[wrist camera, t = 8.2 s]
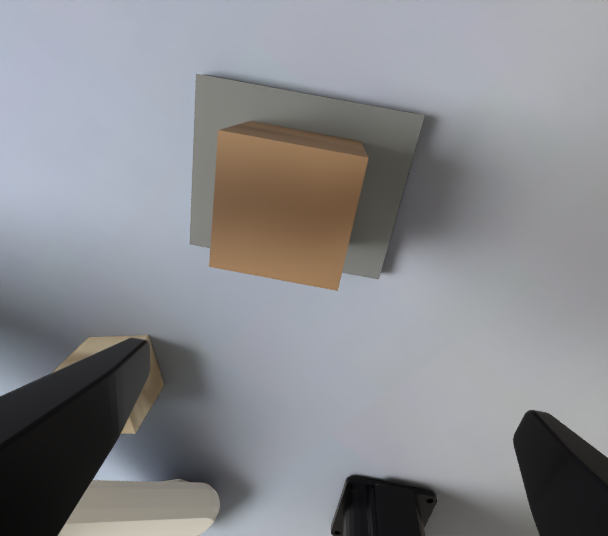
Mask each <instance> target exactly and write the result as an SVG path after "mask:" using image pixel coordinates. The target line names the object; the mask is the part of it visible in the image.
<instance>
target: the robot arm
mask: <svg viewBox="0 0 608 536" xmlns="http://www.w3.org/2000/svg"><path fill="white" fill-rule="evenodd" d="M149 373H150V343H149V341H147V340H145V339H139V338H133V337H132V338H128V339H126V340H124V341H122V342H119V343H117V344H115V345H113V346H111V347H108V348H106V349H104V350H102V351H100V352H97V353H95V354H93V355H91V356H88V357H86V358H84V359H82V360H80V361H77V362H75V363H73V364H71V365H69V366H66V367H64V368H62V369H60V370H58V371H55V372H53V373H51V374H49V375H47V376H44V377H42V378H40V379H38V380H35V381H33V382H31V383H29V384H27V385H24V386H22V387H20V388H18V389H16V390H13V391H11V392H9V393H7V394H5V395H2V396H0V536H58V535H59V533H60V531H61V530H62V528H63V527H64V525H65V523H66V522H67V520H68V519H69V517H70V515H71V514H72V512H73V511H74V509H75V507H76V506H77V504H78V503H79V501H80V499H81V498H82V496H83V494H84V493H85V491H86V490H87V488H88V486H89V485H90V483H91V482H92V480H93V478H94V477H95V475H96V474H97V472H98V470H99V469H100V467H101V466H102V464H103V462H104V461H105V459H106V458H107V456H108V454H109V453H110V451H111V449H112V448H113V446H114V445H115V443H116V441H117V439H118V438H119V436H120V434H121V432H122V430H123V428H124V426H125V424H126V422H127V420H128V418H129V416H130V414H131V412H132V410H133V408H134V406H135V404H136V402H137V399H138V397H139V395H140V393H141V391H142V389H143V387H144V385H145V383H146V381H147V379H148V376H149ZM513 444H514V448H515V452H516V456H517V460H518V464H519V468H520V471H521V475H522V479H523V483H524V487H525V490H526V494H527V498H528V502H529V505H530V509H531V512H532V515H533V518H534V521H535V524H536V527H537V529H538V532H539V535H540V536H608V458H607V457H606V456H605V455H603V454H602V453H601V452H599V451H598V450H597V449H595V448H594V447H593V446H591V445H590V444H589V443H587V442H586V441H585V440H583V439H582V438H581V437H580V436H578V435H577V434H576V433H574V432H573V431H572V430H570V429H569V428H568V427H566V426H565V425H564V424H562V423H561V422H560V421H558V420H557V419H556V418H554V417H553V416H552V415H550V414H549V413H546V412H541V411H536V410H529V411H527V412H526V413H525V415H524V417H523V419H522V421H521V422H520V424H519V426H518V428H517V430H516V432H515V434H514V438H513ZM436 503H437V498H436V494H435V493H434V492H432V491H428V490H423V489H418V488H412V487H407V486H402V485H396V484H391V483H386V482H380V481H375V480H370V479H365V478H359V477H353V476H351V477H348V478H347V479H346V481H345V484H344V488H343V491H342V494H341V497H340V500H339V503H338V506H337V509H336V512H335V516H334V519H333V522H332V525H331V534H332V535H333V536H425V532H424V527H425V525H426V523H427V521H428V519H429V517H430V515H431V513H432V511H433V509H434V507H435V505H436Z"/></svg>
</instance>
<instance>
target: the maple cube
mask: <svg viewBox="0 0 608 536" xmlns="http://www.w3.org/2000/svg"><path fill="white" fill-rule="evenodd" d="M132 337H133V338H139V339H145V340H147V341H149V343H150V373H149V376H148V379H147V381H146V383H145V385H144V387H143V389H142V391H141V393H140V395H139V397H138V399H137V402H136V404H135V406H134V408H133V410H132V412H131V414H130V416H129V418H128V420H127V422H126V424H125V426H124V428H123V430H122V432H121V434H136V432H137V430H138V429H139V427H140V425H141V424H142V422H143V420H144V419H145V417H146V415H147V414H148V412H149V410H150V409H151V407H152V405H153V404H154V402H155V400H156V399H157V397H158V395H159V394H160V392H161V390H162V389H163V387H164V383H163V380H162V377H161V373H160V370H159V367H158V364H157V361H156V358H155V354H154V351H153V348H152V345H151V342H150V339H149V335H138V336H110V337H88V338H87V339H86V340H85V341H84V342H83V343H82V344H81V345H80V346H79V347H78V348H77V349H76V350H75V351H74V352H73V353H72V354H71V355H70V356H69V357H68V358H67V359H66V360H65V361H64V362H62V363H61V364H60V365H59V366H58V367H57V368H56V369H55V370H54V371H53V372H55V371H58V370H60V369H62V368H64V367H66V366H69V365H71V364H73V363H75V362H77V361H80V360H82V359H84V358H86V357H88V356H91V355H93V354H95V353H97V352H100V351H102V350H104V349H106V348H108V347H111V346H113V345H115V344H117V343H119V342H122V341H124V340H126V339H128V338H132ZM53 372H52V373H53Z"/></svg>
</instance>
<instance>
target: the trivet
mask: <svg viewBox="0 0 608 536" xmlns="http://www.w3.org/2000/svg"><path fill="white" fill-rule="evenodd" d="M424 116H425V115H420V114H414V113H409V112H404V111H398V110H393V109H387V108H382V107H376V106H371V105H365V104H360V103H354V102H349V101H343V100H338V99H332V98H327V97H321V96H316V95H311V94H305V93H300V92H294V91H289V90H283V89H278V88H272V87H267V86H261V85H256V84H250V83H245V82H239V81H234V80H228V79H223V78H217V77H212V76H207V75H201V74H196V92H195V118H194V144H193V171H192V197H191V223H190V244H191V245H196V246H202V247H207V248H210V247H211V231H212V216H213V201H214V185H215V170H216V154H217V139H218V130H220V129H223V128H227V127H231V126H234V125H238V124H241V123H245V122H249V121H253V122H259V123H264V124H270V125H275V126H280V127H286V128H291V129H297V130H302V131H307V132H313V133H318V134H324V135H329V136H335V137H340V138H345V139H351V140H356V141H361V143H362V145H363V147H364V149H365V151H366V154H367V156H368V163H367V167H366V171H365V175H364V180H363V184H362V188H361V193H360V197H359V201H358V206H357V210H356V214H355V218H354V223H353V227H352V231H351V236H350V240H349V244H348V248H347V253H346V257H345V261H344V266H343V270H342V273H347V274H353V275H358V276H363V277H369V278H374V279H379V277H380V273H381V270H382V266H383V262H384V259H385V255H386V252H387V248H388V245H389V241H390V237H391V234H392V230H393V227H394V223H395V220H396V216H397V213H398V209H399V205H400V202H401V198H402V195H403V191H404V188H405V184H406V180H407V177H408V173H409V170H410V166H411V163H412V159H413V156H414V152H415V148H416V145H417V141H418V138H419V134H420V131H421V127H422V123H423V120H424Z"/></svg>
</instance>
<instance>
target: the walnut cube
mask: <svg viewBox="0 0 608 536" xmlns="http://www.w3.org/2000/svg"><path fill="white" fill-rule="evenodd" d="M367 163H368V156H367V154H366V151H365V149H364V147H363V145H362V143H361V141H356V140H351V139H345V138H340V137H335V136H329V135H324V134H318V133H313V132H307V131H302V130H297V129H291V128H286V127H280V126H275V125H270V124H264V123H259V122H253V121H249V122H245V123H241V124H238V125H234V126H231V127H227V128H223V129H220V130H218V139H217V154H216V170H215V185H214V201H213V216H212V231H211V247H210V262H209V267H214V268H219V269H224V270H230V271H235V272H241V273H246V274H251V275H257V276H262V277H267V278H273V279H278V280H283V281H289V282H294V283H299V284H305V285H310V286H315V287H321V288H326V289H331V290H337V291H338V287H339V283H340V279H341V274H342V270H343V266H344V261H345V257H346V253H347V248H348V244H349V240H350V236H351V231H352V227H353V223H354V218H355V214H356V210H357V206H358V201H359V197H360V193H361V188H362V184H363V180H364V175H365V171H366V167H367Z"/></svg>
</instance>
